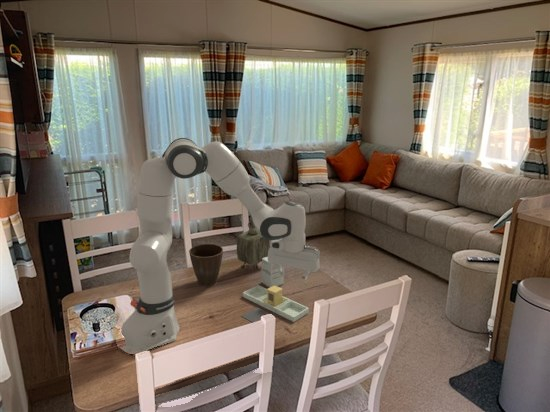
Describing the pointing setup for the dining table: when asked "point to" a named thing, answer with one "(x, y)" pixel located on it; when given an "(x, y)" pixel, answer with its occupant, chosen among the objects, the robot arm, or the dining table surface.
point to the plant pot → (206, 262)
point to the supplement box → (271, 274)
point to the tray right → (292, 310)
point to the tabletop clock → (252, 247)
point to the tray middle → (264, 304)
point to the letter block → (274, 296)
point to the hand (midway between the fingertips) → (293, 277)
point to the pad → (254, 314)
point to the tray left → (255, 294)
